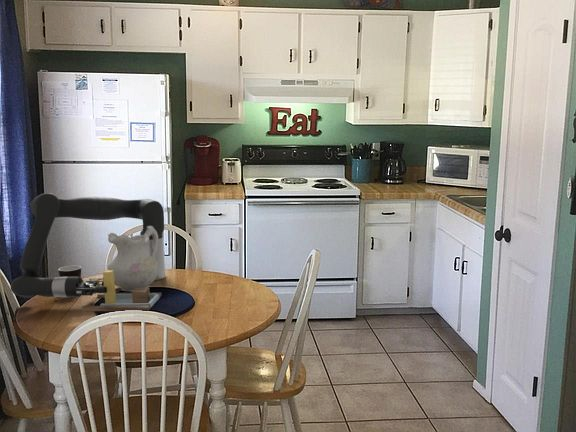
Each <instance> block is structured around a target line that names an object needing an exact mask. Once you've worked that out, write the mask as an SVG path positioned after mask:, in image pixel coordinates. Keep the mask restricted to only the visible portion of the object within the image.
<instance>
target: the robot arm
mask: <svg viewBox="0 0 576 432" xmlns="http://www.w3.org/2000/svg"><path fill="white" fill-rule="evenodd" d="M29 208H30V212H31V213H32V215H34V222H33V226H32V230H31V232H30V234H29V237H28V239H27V241H26V244H25V246H24V248H23V253H22V255H21V259H20V261H19V262H20V263H19V268H20V270H21V271H22V273H21V274H22V275H21V276H18V277H15V278H14V279H13V280H12V281H11V283H10V290H11V292H12V293H13V294H14V295H15V296H18V297H21V298H25V299H29V298H33V297H34V296H40V297H45V298H46V297H51V298H53V297H54V298H55V297H56V298H80V297H82V296H93V295H96V294H98V293H107V287H104V281H103V278H102V277H100V278H99V277H97V278H92V277H91V278H88V279H87V280H85V281H84V279H83V278H82V276H81V277H60V276H57V277H56V276H55V277H40V268H41V265H42V261H43V257H44V252H45V250H46V245H47V241H48V237H49V235H50V231H51V229H52V226H53V224H54V221H55V219H56V218H72V219H80V220H91V221H93V220H94V221H110V220H116V219H122V218H125V219H126V218H128V219H136V220H141V221H142V230H141V231H140V233H139V235H144V234H145V232H146V227H147V226H151V225H152V226H153V228H154V229H155V230H156V231H157V234H158V247H157V251H156V253H155V259H156V261H157V262H158V266H159V271H158V275H157V277H156V279H155V280H154V281H157V280H162V279H165V278H166V264H165V263H166V262H165V250H164V249H165V248H164V247H165V245H164V236H163V235H164V231H165V213H164V208H163V205H162V203H160V202H159V201H157V200H155V199H150V198H142V199H141V198H140V199H122V198H114V197H106V196H84V197H83V196H81V197H74V198H61V197H57V195H56V194H54V193H50V192H45V193H44V192H43V193H41V194H39V195H37V196H36V197H34V198H33V199H32V201H31V202H30V205H29ZM152 246H153V236H152V235H151V236H149V242H148V245H147V252H148V254H149V255H151V250H152Z"/></svg>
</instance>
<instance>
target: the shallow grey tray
mask: <svg viewBox="0 0 576 432" xmlns="http://www.w3.org/2000/svg"><path fill="white" fill-rule="evenodd" d="M102 277H103V281H104V287H107V293H104V294H105V298H104V303H100V305H99V306H150V309H151V308H152V307H153V306H154V305H155V304H156V302H158V301H159V299H160V298H161V297H160V293H161V292H150V301H149V303H133V300H132V294H115V293H116V285H115V281H114V270H108V269H106V270H103V272H102Z"/></svg>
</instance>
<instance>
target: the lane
mask: <svg viewBox="0 0 576 432" xmlns="http://www.w3.org/2000/svg"><path fill="white" fill-rule="evenodd" d="M159 293H160V298H161V297H162V292H159ZM96 294H97V298H98V299H100V298H101V299H102V298H103V299H105V294H104V293H96ZM115 294H132V292H115ZM150 309H151V308H150V306H100V305H83V306H81V312H122V311H121V310H147V311H150ZM147 311H146V312H147Z"/></svg>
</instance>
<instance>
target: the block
mask: <svg viewBox="0 0 576 432" xmlns="http://www.w3.org/2000/svg"><path fill="white" fill-rule="evenodd" d="M131 293H132V300H133V303H149V301H150V293H151V292H150V287H149V288H135V289H134V290H133V291H132V292H131Z"/></svg>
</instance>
